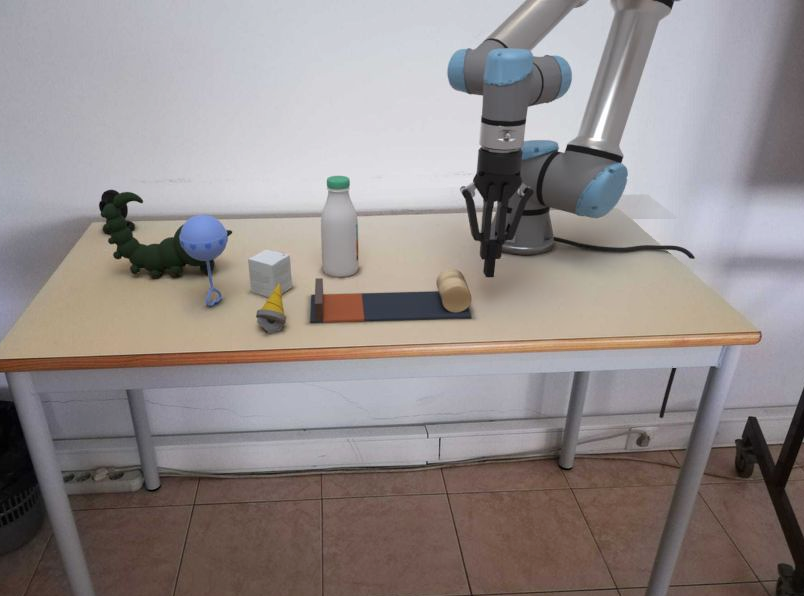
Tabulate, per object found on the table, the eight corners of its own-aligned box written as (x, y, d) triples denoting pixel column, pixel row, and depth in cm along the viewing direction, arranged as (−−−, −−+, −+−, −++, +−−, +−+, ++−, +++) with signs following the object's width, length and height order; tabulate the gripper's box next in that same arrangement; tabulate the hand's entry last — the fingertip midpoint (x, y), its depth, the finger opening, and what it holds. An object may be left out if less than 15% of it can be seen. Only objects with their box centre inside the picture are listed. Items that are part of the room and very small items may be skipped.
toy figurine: (118, 290, 141) (237, 277, 142) (90, 203, 132) (218, 188, 132) (128, 272, 149) (242, 259, 150) (103, 188, 140) (224, 174, 140)
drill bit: (249, 332, 123) (261, 282, 126) (276, 341, 125) (288, 290, 128) (256, 327, 118) (269, 274, 121) (285, 335, 120) (297, 283, 123)
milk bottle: (354, 279, 142) (352, 184, 132) (318, 276, 143) (314, 182, 133) (362, 264, 149) (361, 173, 138) (327, 262, 150) (324, 171, 140)
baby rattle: (213, 319, 127) (201, 227, 118) (180, 308, 131) (165, 218, 122) (244, 301, 133) (235, 213, 124) (211, 291, 137) (200, 205, 128)
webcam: (96, 231, 167) (87, 191, 162) (120, 222, 172) (112, 183, 167) (118, 237, 163) (109, 196, 158) (142, 228, 169) (134, 188, 163)
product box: (269, 281, 141) (266, 248, 137) (293, 287, 138) (291, 254, 135) (250, 292, 137) (247, 258, 133) (274, 299, 134) (272, 265, 130)
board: (461, 292, 136) (462, 274, 134) (471, 318, 127) (473, 299, 125) (311, 296, 135) (310, 278, 133) (310, 323, 125) (309, 303, 123)
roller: (444, 299, 135) (469, 285, 134) (451, 317, 128) (476, 303, 127) (431, 277, 133) (455, 263, 131) (436, 295, 126) (463, 280, 124)
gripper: (466, 153, 113) (457, 283, 125) (544, 152, 114) (527, 282, 125) (459, 142, 119) (451, 267, 131) (532, 142, 120) (517, 265, 132)
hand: (488, 274), depth 128 cm, fingers closed
